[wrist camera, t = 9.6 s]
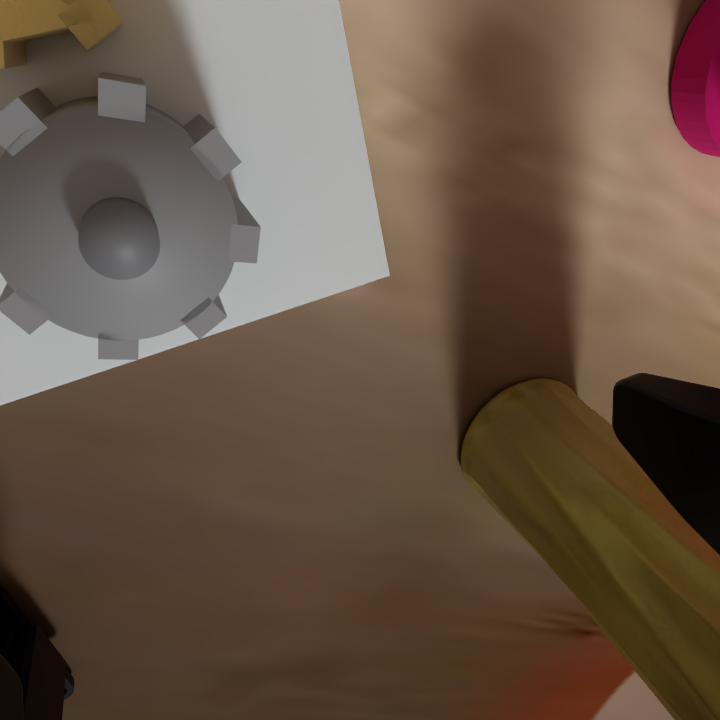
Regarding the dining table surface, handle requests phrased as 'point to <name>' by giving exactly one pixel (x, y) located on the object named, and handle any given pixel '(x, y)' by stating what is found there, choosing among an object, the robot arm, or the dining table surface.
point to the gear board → (267, 133)
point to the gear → (52, 24)
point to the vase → (604, 536)
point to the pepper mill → (699, 81)
